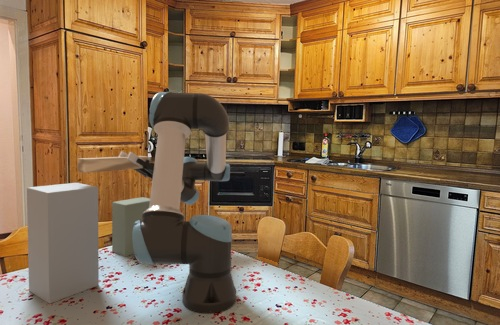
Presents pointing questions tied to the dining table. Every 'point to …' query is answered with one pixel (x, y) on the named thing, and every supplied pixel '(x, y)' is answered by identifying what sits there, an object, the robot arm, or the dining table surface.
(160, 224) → the robot arm
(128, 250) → the sage green block
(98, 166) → the tan wooden bar
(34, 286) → the stand
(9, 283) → the dining table surface
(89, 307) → the dining table surface
